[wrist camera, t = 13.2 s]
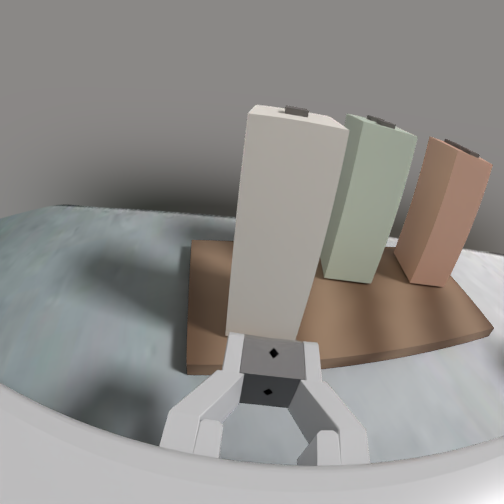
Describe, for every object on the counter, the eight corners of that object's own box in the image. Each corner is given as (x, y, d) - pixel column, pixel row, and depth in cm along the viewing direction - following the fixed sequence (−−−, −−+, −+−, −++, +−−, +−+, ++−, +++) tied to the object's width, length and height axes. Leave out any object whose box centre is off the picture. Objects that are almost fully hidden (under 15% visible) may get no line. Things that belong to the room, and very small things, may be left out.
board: (187, 374, 16) (186, 364, 15) (191, 249, 27) (191, 240, 26) (488, 336, 20) (494, 328, 20) (422, 256, 31) (425, 248, 30)
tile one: (293, 344, 17) (350, 123, 11) (225, 335, 17) (248, 105, 11) (291, 288, 22) (329, 110, 15) (236, 280, 22) (257, 99, 15)
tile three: (444, 286, 24) (493, 161, 17) (409, 282, 24) (458, 146, 17) (424, 256, 28) (462, 145, 22) (392, 251, 28) (428, 132, 22)
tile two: (371, 283, 23) (418, 132, 17) (324, 277, 23) (364, 117, 17) (357, 249, 28) (392, 121, 21) (317, 243, 28) (346, 109, 21)
